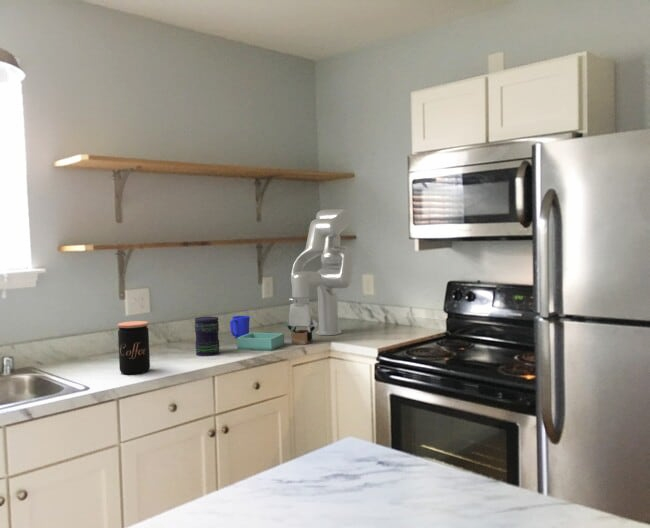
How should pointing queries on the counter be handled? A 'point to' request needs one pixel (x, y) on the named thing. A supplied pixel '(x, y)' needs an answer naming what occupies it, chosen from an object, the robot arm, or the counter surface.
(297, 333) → the walnut crate
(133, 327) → the coffee jar
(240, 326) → the mug
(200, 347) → the storage jar
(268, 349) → the teal crate
